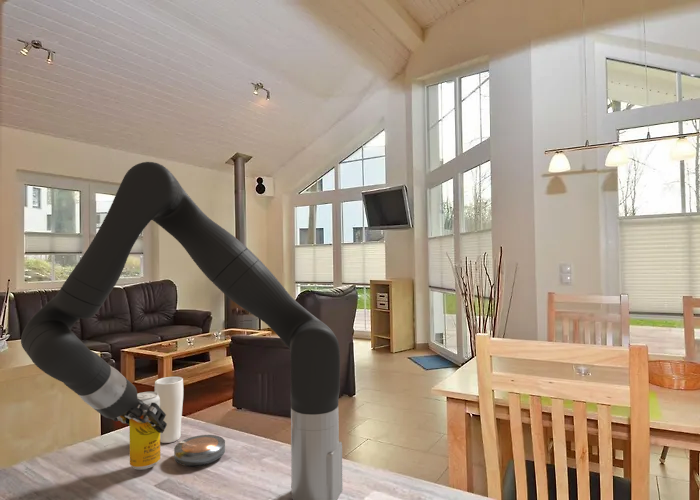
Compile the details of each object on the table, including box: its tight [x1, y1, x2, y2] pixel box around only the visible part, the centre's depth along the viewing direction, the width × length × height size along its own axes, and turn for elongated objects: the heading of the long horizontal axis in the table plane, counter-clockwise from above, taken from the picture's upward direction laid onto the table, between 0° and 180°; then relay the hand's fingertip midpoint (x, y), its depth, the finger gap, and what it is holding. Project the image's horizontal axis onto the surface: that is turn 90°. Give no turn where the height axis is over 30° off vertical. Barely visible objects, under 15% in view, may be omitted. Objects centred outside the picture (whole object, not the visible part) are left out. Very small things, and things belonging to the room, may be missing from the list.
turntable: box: [173, 434, 226, 467], centre depth 99 cm, size 11×11×2 cm
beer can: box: [128, 391, 161, 470], centre depth 95 cm, size 6×6×15 cm
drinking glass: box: [153, 376, 184, 444], centre depth 109 cm, size 7×7×15 cm
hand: (151, 427), depth 97 cm, fingers closed on beer can, 6 cm apart
